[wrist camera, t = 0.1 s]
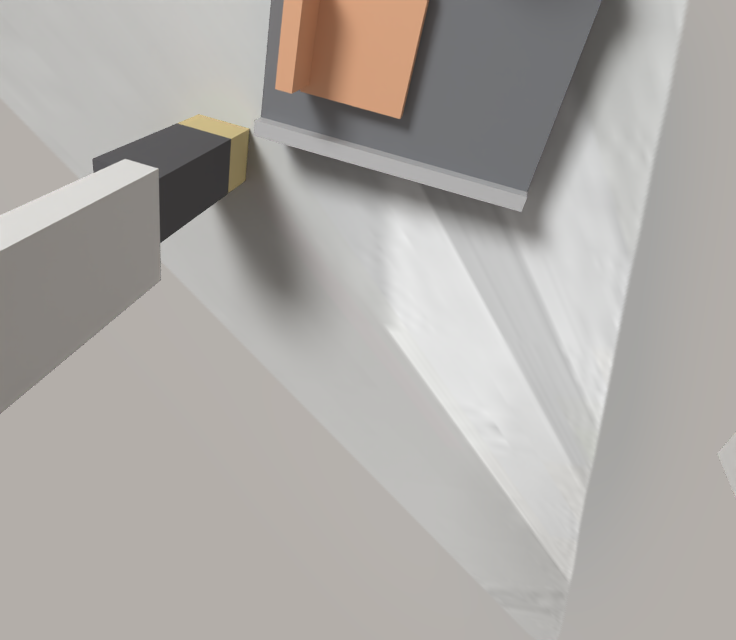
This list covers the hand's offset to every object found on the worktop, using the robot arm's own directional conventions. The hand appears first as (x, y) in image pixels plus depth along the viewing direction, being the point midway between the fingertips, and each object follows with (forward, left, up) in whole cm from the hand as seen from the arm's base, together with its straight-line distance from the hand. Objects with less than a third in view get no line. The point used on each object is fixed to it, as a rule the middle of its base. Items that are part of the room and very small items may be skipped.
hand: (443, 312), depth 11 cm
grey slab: (-1, -5, -28) cm, 28 cm away
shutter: (-1, -8, -25) cm, 26 cm away
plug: (+9, -18, -28) cm, 35 cm away
